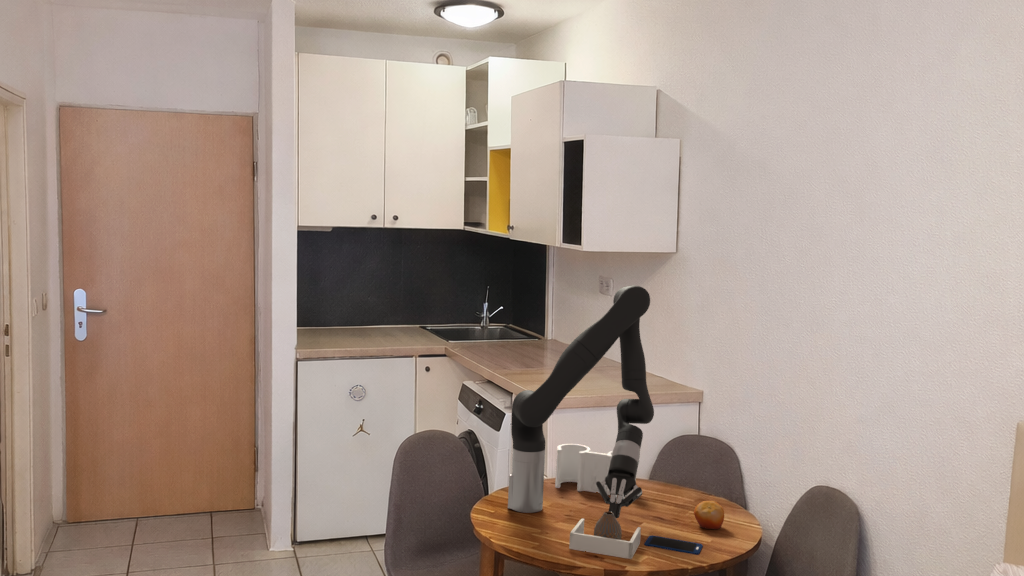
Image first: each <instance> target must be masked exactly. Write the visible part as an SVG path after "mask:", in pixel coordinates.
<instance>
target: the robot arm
mask: <svg viewBox="0 0 1024 576" xmlns="http://www.w3.org/2000/svg"><path fill="white" fill-rule="evenodd" d="M612 303H613V304H612V306H611V307H610V308H609V310H608V311H607V312H606V313H605V314H604V315H603V316H602V317H601V318H600V319H598V320H597V321H596V322H595V323H593V324H591V325H590V326H589V327H587V328H586V329H585V330H584V331H582V332H581V333H580V334H579V335H577V336H576V337H575V339H574V340H573V341H571V343H570V344H568V346H567V347H566V348H565V349H564V350H563V352H561V355H560V356H559V358H558V360H557V361H556V364H555V366H554V367H553V369H552V371H551V373H550V375H549V376H548V377H547V379H545V381H544V382H543V383H542V384H541V385H540V386H539V387H538V388H537V389H535V390H529V389H526V390H522V391H520V392H519V393H518V394H517V395H515V397H514V399H513V401H512V406H511V426H510V427H511V432H510V433H511V440H512V453H511V454H512V456H511V473H510V474H509V476H508V494H507V495H508V498H507V509H510V510H513V511H515V512H518V513H525V514H526V513H527V514H528V513H530V514H532V513H538V512H541V511H542V510H543V508H544V507H543V505H544V504H543V503H544V483H545V482H544V481H545V480H544V479H545V463H546V438H545V435H544V427H543V424H544V423H546V422H547V421H548V419H549V418H550V417H551V416H552V415H553V413H554V412H555V410H557V407H559V405H560V404H561V402H562V401H563V400H564V399H565V397H566V396H567V395H568V394H569V393H570V392H571V391H572V390H573V389H574V388H575V387H576V386H577V385H578V384H579V383H580V382H581V381H582V380H583V379H584V378H585V376H586V375H587V374H589V372H590V371H591V370H592V369H593V368H594V367H595V366H596V365H597V364H598V363H599V361H601V359H602V358H603V357H604V356H605V354H607V352H608V351H609V350H610V349H611V348H612V346H614V344H615V343H616V341H617V340H618V339H619V347H620V367H621V368H620V372H621V373H620V374H621V385H622V389H624V390H625V391H628V392H632V393H635V394H636V395H637V397H638V398H624V399H623V398H622V399H621V400H620V401H619V402H618V403H617V405H616V418H617V435H616V438H615V443H614V447H613V450H612V451H613V453H612V457H611V462H610V466H609V471H608V475H607V476H606V477H605V480H604V481H602V482H599V481H598V482H596V485H597V489H598V490H599V492H600V493H599V494H600V496H601V498H602V499H603V501H604V503H605V504H607V505H609V506H608V507H609V508H608V510H607V512H613V513H614V516H615V518H616V519H617V520H618V519H619V518H620V515H621V509H622V508H623V507H626V508H627V507H629V506H631V504H633V503H634V502H635V501H636V500H638V499H639V498H640V497H641V496H642V495H643V490H642V487H640V486H639V485H637V481H635V479H636V480H637V474H638V470H639V469H638V467H639V464H640V457H641V449H642V448H641V447H642V441H643V438H644V437H643V436H644V432H643V430H642V429H641V428H640V427H638V426H636V425H637V424H639V425H640V424H641V425H646V424H650V423H651V422H652V421H653V419H654V417H655V410H654V405H653V402H652V400H651V396H650V393H649V389H648V385H647V368H646V367H647V366H646V357H645V353H644V348H643V344H642V339H641V333H640V322H641V321H640V320H641V317H642V316H644V315H645V314H646V313H647V312H648V310H649V308H650V305H651V295H650V293H649V292H648V290H647V289H646V288H644V287H642V286H639V285H628V286H623V287H620V289H618V290H617V291H616V292H615V295H614V297H613V302H612ZM634 424H636V425H634ZM606 485H607V487H608V489H609V491H610V492H611V493H610V497H609V495H607V493H606V491H605V489H606V487H605V486H606ZM632 490H633V492H632V493H631V494H629V495H628V496H627V497H626V495H627V494H628V493H630V492H631V491H632Z"/></svg>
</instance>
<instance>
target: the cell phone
mask: <svg viewBox="0 0 1024 576" xmlns="http://www.w3.org/2000/svg"><path fill="white" fill-rule="evenodd" d="M643 545H644V546H646V547H650V548H658V549H662V550H668V551H673V552H680V553H684V554H688V555H689V554H690V555H698V556H699V555H700V554H701V552H702V549H703V544H702V543H697V542H693V541H687V540H682V539H675V538H670V537H665V536H664V537H663V536H661V535H660V536H659V535H653V534H652V535H649V536H648V537H647V538H646V540H645V542H644V543H643Z"/></svg>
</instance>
